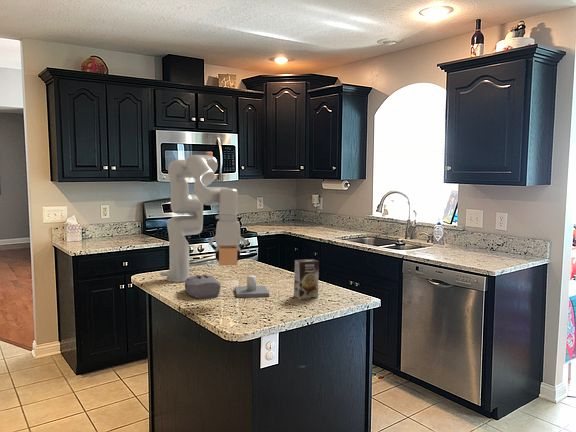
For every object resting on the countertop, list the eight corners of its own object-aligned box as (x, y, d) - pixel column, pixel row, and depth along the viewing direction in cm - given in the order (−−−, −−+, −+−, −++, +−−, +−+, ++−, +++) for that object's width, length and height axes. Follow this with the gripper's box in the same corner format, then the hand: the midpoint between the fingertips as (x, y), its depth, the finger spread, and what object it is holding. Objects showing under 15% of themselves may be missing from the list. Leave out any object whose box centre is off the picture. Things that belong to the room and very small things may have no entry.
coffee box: (299, 299, 203) (300, 262, 202) (293, 295, 209) (294, 259, 208) (318, 297, 207) (319, 260, 205) (312, 294, 213) (312, 258, 211)
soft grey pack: (224, 297, 206) (211, 286, 224) (224, 278, 205) (211, 269, 223) (190, 300, 200) (179, 289, 217) (190, 281, 199) (179, 271, 217)
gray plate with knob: (236, 297, 205) (237, 280, 204) (234, 289, 218) (234, 273, 218) (269, 296, 207) (269, 279, 206) (265, 288, 221) (265, 272, 220)
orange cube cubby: (219, 265, 195) (219, 248, 194) (218, 261, 202) (218, 245, 201) (237, 265, 196) (237, 248, 195) (235, 261, 203) (236, 245, 202)
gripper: (207, 219, 192) (206, 262, 194) (250, 219, 195) (249, 261, 197) (206, 217, 199) (206, 258, 201) (248, 217, 202) (247, 258, 204)
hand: (227, 260), depth 199 cm, fingers closed on orange cube cubby, 7 cm apart
